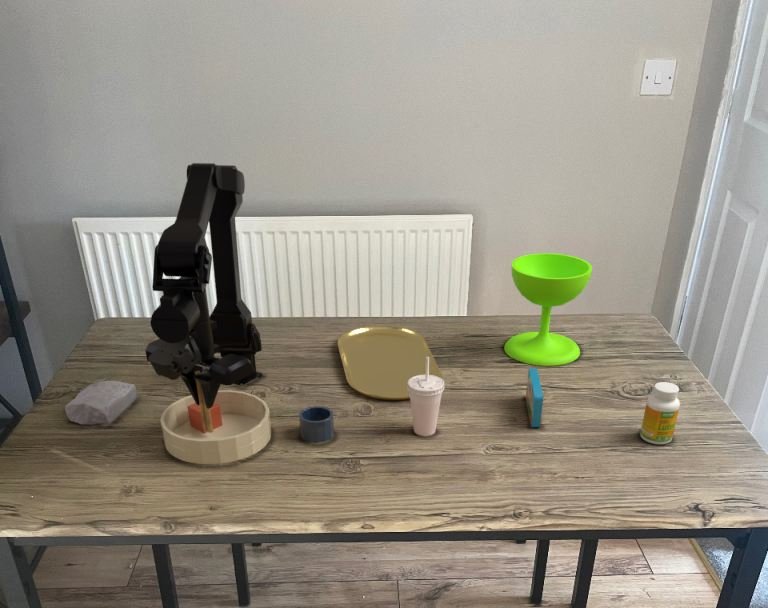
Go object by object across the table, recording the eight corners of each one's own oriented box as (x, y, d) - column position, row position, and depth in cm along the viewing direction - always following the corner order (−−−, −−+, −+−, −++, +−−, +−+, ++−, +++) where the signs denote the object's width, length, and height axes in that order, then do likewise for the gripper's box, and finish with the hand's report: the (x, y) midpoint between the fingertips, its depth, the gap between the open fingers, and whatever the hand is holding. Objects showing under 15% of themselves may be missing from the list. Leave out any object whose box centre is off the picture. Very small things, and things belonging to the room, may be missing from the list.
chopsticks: (205, 428, 140) (196, 370, 134) (215, 431, 139) (206, 373, 133) (201, 430, 139) (192, 372, 133) (211, 433, 138) (202, 375, 132)
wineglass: (500, 334, 177) (507, 252, 167) (573, 335, 177) (585, 253, 166) (507, 365, 164) (515, 278, 154) (586, 366, 164) (599, 279, 153)
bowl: (215, 405, 150) (212, 381, 147) (292, 431, 142) (290, 406, 139) (143, 447, 138) (137, 422, 135) (222, 478, 130) (218, 451, 127)
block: (208, 418, 145) (205, 398, 143) (222, 425, 143) (219, 405, 140) (190, 426, 143) (187, 406, 140) (204, 433, 140) (201, 413, 138)
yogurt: (525, 397, 152) (528, 367, 149) (533, 397, 152) (537, 367, 149) (531, 428, 143) (534, 397, 139) (539, 428, 143) (543, 397, 139)
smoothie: (446, 426, 143) (450, 353, 135) (437, 443, 138) (439, 369, 130) (412, 421, 145) (414, 348, 137) (401, 437, 140) (402, 363, 132)
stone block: (66, 431, 146) (113, 426, 143) (55, 407, 144) (103, 402, 141) (98, 403, 156) (143, 398, 153) (89, 380, 153) (134, 375, 150)
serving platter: (416, 329, 180) (416, 322, 179) (450, 400, 152) (450, 392, 151) (333, 334, 178) (333, 327, 177) (352, 407, 149) (352, 400, 148)
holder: (313, 425, 144) (312, 403, 141) (340, 434, 141) (340, 411, 139) (293, 439, 140) (292, 416, 137) (321, 448, 137) (319, 425, 135)
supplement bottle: (655, 448, 137) (666, 397, 131) (633, 434, 141) (643, 384, 135) (678, 440, 139) (690, 389, 133) (656, 427, 143) (667, 377, 137)
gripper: (112, 322, 126) (130, 411, 135) (199, 348, 118) (212, 440, 127) (163, 301, 134) (177, 386, 143) (249, 323, 126) (258, 412, 135)
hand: (204, 405), depth 137 cm, fingers closed on chopsticks
